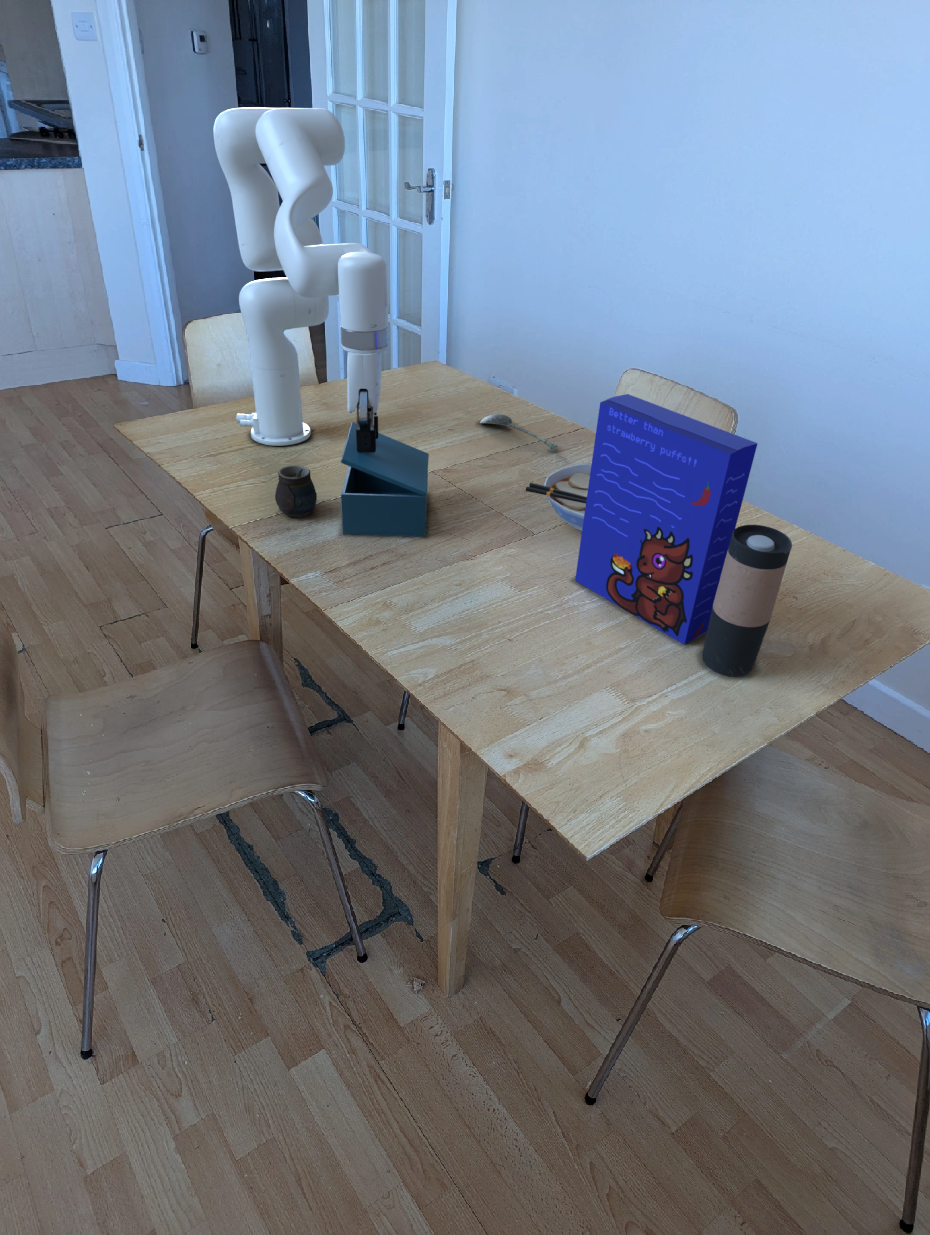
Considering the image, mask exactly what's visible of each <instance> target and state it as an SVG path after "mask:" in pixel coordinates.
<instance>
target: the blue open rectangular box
mask: <svg viewBox="0 0 930 1235" xmlns="http://www.w3.org/2000/svg"><path fill="white" fill-rule="evenodd" d="M428 478H429V474H428V475H427V489H428V488H429V487H428V484H429V483H428V480H429V479H428ZM340 501H341V502H340V503H341V521H342V522H341V523H342V524H341V525H342V534H343V535H359V536H361V535H362V536H390V537H391V536H392V537H421V538H423V537H424V538H425V537H426V525H427V506H428V490H427V491H426V495H425V496H422V495H420V494H417V493H415V492H412V491H410V490H407V489H405V488H402V487H400V486H397V485H395V484H392V483H390V482H387V481H385V480H382V479H380V478H378V477H375V476H373V475H370V474H368V473H365V472H363V471H360V470H358V469H355V468H353V467H350V466H348V465H347V470H346V474H345V477H344V481H343V485H342V489H341V494H340Z"/></svg>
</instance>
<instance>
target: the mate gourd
mask: <svg viewBox="0 0 930 1235" xmlns="http://www.w3.org/2000/svg"><path fill="white" fill-rule="evenodd" d="M277 475H278V482H277V485H276V489H275V493H274V499H275V503H276V505H277V507H278V510H279V511H280V512H281V513H282V514H284V515H286V516H289V517H290V518H302V517H305V516H308V515H309V514H311V513H312V512H313V511H314V510H315V508H316V504H317V500H318V498H317V497H318V493H317V490H316V488H315V485H314V482H313V479H312V478H311V470H310V469H309V467H307V466H305V465H304V466H303V465H300V464H299V465H298V464H291V465H285V466H283V467H281V468H280V469H279V470H278V471H277Z"/></svg>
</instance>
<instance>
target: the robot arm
mask: <svg viewBox="0 0 930 1235" xmlns="http://www.w3.org/2000/svg"><path fill="white" fill-rule="evenodd" d="M213 144H214V148H215V149H214V150H215V152H216V157H217V159H218V163H219V165H220V168H221V170H222V173H223V175H224V177H225V180H226V182H227V185H228V189H229V191H230V196H231V201H232V202H231V203H232V210H233V216H234V224H235V230H236V234H237V235H236V236H237V243H238V249H239V253H240V258H241V262H242V263H243V264H244V266H245V267H246V268H247V269H249V270H251V271H253V272H276V271H283V273H284V275H285V276H286V277H272V278H271V277H270V278H263V279H256V280H253V281H249V282H248V283H246V284H245V285H244V286H243V287H242V288H241V290H240V291H239V294H238V306H239V310H240V313H241V318H242V320H243V325H244V328H245V329H244V330H245V334H246V338H247V344H248V350H249V351H248V352H249V360H250V369H251V380H252V387H253V389H252V390H253V396H254V397H253V398H254V406H255V407H254V408H255V412H251V414H246V413H237V414H236V423H237V424H239V426H240V427H250V428H251V429H250V437H251V439H252V440H253V441H255V442H256V443H259V444H262V445H266V446H275V447H283V446H284V447H285V446H292V445H296V444H300V443H302V442H304V441H306V440H308V439H309V438H310V436H311V434H312V433H311V432H312V428H311V427H310V426H309V425H308V424H307V423H305V422H303V408H302V395H301V394H302V392H301V382H300V381H301V378H300V365H299V355H298V351H297V348H296V346H295V345H294V344H293V342H292V341H291V340H290V339H289V338H288V337H287V336H286V335H285V333H284V332H285V331H287V330H292V329H300V328H301V329H302V328H308V327H314V326H315V327H316V326H319V325H321V324H323V323H325V321H326V320H327V319H328V316H329V312H330V298H329V297H331V296H338V301H339V303H338V305H339V325H340V326H339V328H340V345H341V347H340V348H341V349H342V350H344V351H345V352H347V358H346V378H347V379H346V386H347V388H346V389H347V393H346V394H347V412H348V413H349V414H353V413H355V411H356V424H357V428H356V442H357V451H358V452H370V453H374V452H376V439H378V433H379V416H378V409H379V405H380V400H381V393H382V392H381V390H382V352H384V351H386V350H388V349H389V301H388V298H389V297H388V265H387V261H386V259H385V258H384V257H383V256H382V255H380V254H378V253H374V252H372V251H371V249H369V248H368V247H367V246H366V245H364V244H363V243H358V242H345V243H344V242H343V243H329V244H324V242H323V238H322V234H321V231H320V229H319V227H318V225H317V223H316V222H315V221H314V220H313V218H315V217H316V216H318V215H319V214H320V213H322V212H323V211H324V210H325V209H326V208H327V207H328V206H329V204H330V203H331V201H332V198H333V195H334V187H333V184H332V180H331V178H330V177H329V174H328V173H327V170H326V168H325V166H326V167H328V166H329V167H330V166H335V165H337V164H339V163H340V162H341V161H342V160H343V158H344V155H345V151H346V139H345V132H344V130H343V126H342V125H341V122H340V121H339V119H338V118H337V117H336V115H335V114H334V113H333V112H332V111H330V110H329V109H327V108H322V107H258V106H257V107H255V106H254V107H235V108H229V109H226V110H224V111H222V112H220V113H219V114H218V115H217V116H216V118H215V121H214V124H213ZM261 164H266V166H267V168H268V170H269V173H270V174H269V173H268V172H267V170H266V169H265V168H264V167H263V166H262V165H261ZM270 175H271V176H270ZM279 196H280V198H281V200H282V203H281V204H280V199H279ZM367 415H369V416H370V419H369V418H368V416H367Z"/></svg>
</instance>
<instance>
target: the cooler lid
mask: <svg viewBox="0 0 930 1235" xmlns="http://www.w3.org/2000/svg"><path fill="white" fill-rule="evenodd" d="M367 416H368V418H369V419H370V416H369V415H367ZM356 428H357V422H354V421H352V422H351V423H350V425H349V430H348V434H347V436H346V441H345V445H344V448H343V452H342V455H341V460H340V463H341V464H343V465H346V466H347V467H348V466H350V467H353V468H355V469H358V470H360V471H363V472H365V473H368V474H370V475H373V476H375V477H378V478H380V479H382V480H385V481H387V482H390V483H392V484H395V485H397V486H400V487H402V488H405V489H407V490H410V491H412V492H415V493H417V494H420V495H422V496H425V495H426V491H427V492H428V488H427V475H428V476H429V457H430V456H429V455H430V454H429V453H428V452H426V451H423V450H421V449H418V448H416V447H413V446H411V445H409V444H407V443H404V442H402V441H400V440H397V439H395V438H392V437H389V436H387V435H385V434H383V433H380V432H378V439H376V452H374V453H370V452H358V451H357V442H356Z"/></svg>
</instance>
